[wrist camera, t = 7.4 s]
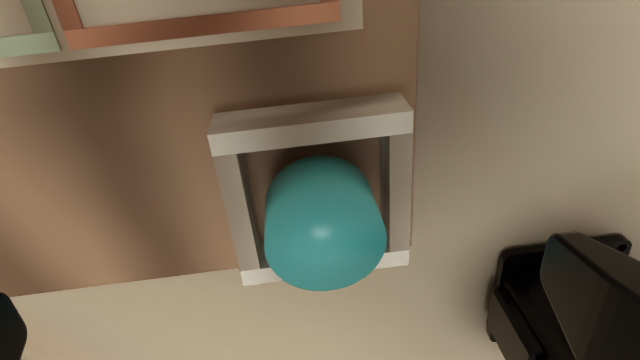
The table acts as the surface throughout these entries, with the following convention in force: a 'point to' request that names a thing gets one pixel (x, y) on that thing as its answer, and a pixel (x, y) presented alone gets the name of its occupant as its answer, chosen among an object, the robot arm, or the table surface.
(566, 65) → the table surface
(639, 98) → the table surface
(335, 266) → the button
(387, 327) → the table surface
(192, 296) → the table surface
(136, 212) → the picture board
